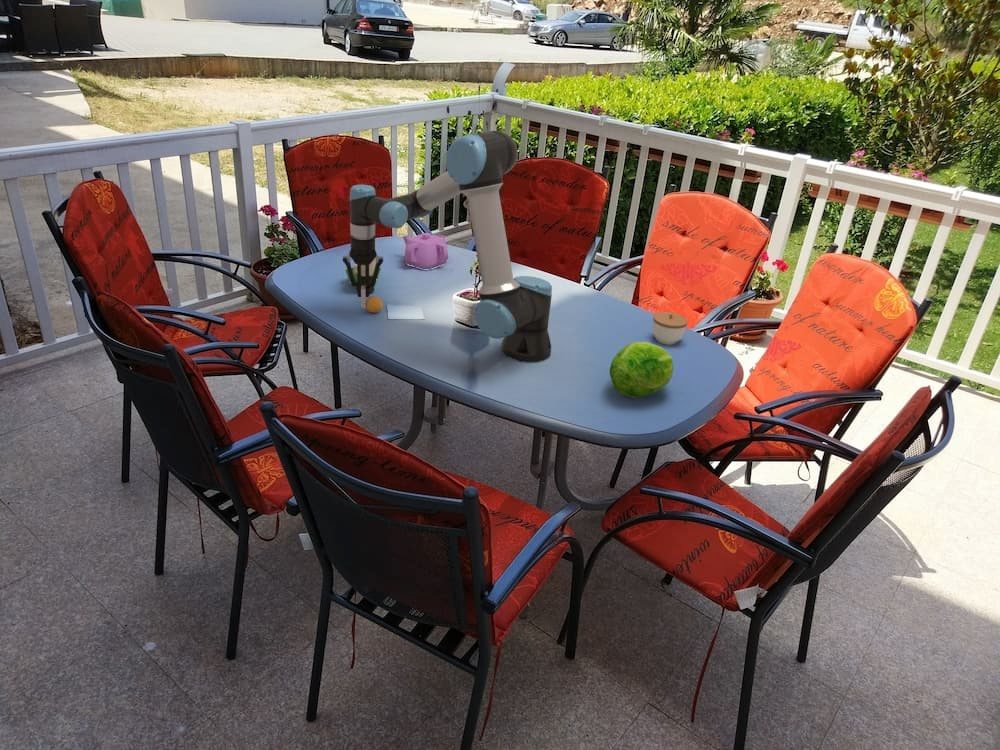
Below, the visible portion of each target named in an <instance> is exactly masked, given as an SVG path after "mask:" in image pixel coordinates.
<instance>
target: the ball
mask: <svg viewBox="0 0 1000 750" xmlns="http://www.w3.org/2000/svg"><path fill="white" fill-rule="evenodd" d="M365 309H366V310H367V311H368V312H370V313H372V314H375V313H377V314H378V313H379V312H381V310H382V309H383V301H382V299H381V298H380V297H379V296H376V295H372V296H369V297H367V298H366V308H365Z"/></svg>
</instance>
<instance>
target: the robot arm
mask: <svg viewBox="0 0 1000 750" xmlns="http://www.w3.org/2000/svg"><path fill="white" fill-rule="evenodd" d="M518 153H519V152H518V147H517V144H516V142H515V141H514V139H513V138H512V137H511V136H510V135H509V134H507V132H503V131H500V130H490V131H486V132H477V133H471V134H470V133H468V134H466V135H462V136H460V137H457V138H455V140H454V141H452V143H451V144H450V146H449V147H448V149H447V152H446V156H445V167H446V171H445V172H443V173H441V174H440V175H438V176H436V177H435V178H433V179H432V180H430V181H429V182H427V183H425V184H423V185H421V186H420V187H419V188H417V189H415V190H414V191H412V192H411V193H407V194H404V195H399V196H394V197H391V198H383V197H380V196H378V195H377V194H376V189H375V187H374V186H372V185H368V184H354V185H352V186H351V187H350V189H349V213H350V215H349V217H350V222H349V225H350V226H349V227H350V232H349V233H350V250H349V253H348V254H347V255H343V256H342V262H343V263H344V265H345V267H346V270H348V274H349V277H350V281H351V284H350V285H351V286H352V287H355V288H357V290H356V293H357V295H356V296H357V297H358V298H360V303H361V309H362V308H363V309H364V308H365V309H367V308H366V301H367V298H369V297H370V293H369V288H370V287H374V288H375V285H376V283H377V281H376V279H377V275H378V272H379V268H381V265H382V264H383V262H384V257H383V256H381V255H378V254H377V250H376V237H375V236H376V224H380V225H383V226H385V227H387V228H390V229H391V228H392V229H401V228H402V227H404V225H405V224H407V221H410V220H414V219H416V218H422V217H426V216H429V215H430V214H431V213H433V211H434V209H435V208H438V207H439V206H441V205H443V204H445V203H447V202H448V201H450V200H452V199H453V198H456V197H457V196H459V195H460V194H463V195H464V196H466V200H467V205H468V209H469V217H470V221H471V227H472V232H473V238H474V239H473V240H474V243H475V249H476V254H477V255H476V256H477V260H478V266H479V272H480V276H481V282H482V285H481V287H480V288H479V290H478V295H479V302H478V303H477V304H476V307H475V309H474V312H473V313H474V314H473V315H474V316H473V317H474V320H475V323H476V325H477V327H478V328H479V329H480V331H481V332H482V333H484V334H485V335H486V336H487V337H488V338H492V339H495V340H496V339H497V340H498V339H502V341H501V349H502V350H501V353H502V352H503V353H504V354H505V355H504V354H503V353H502V354H503V355H504V356H505V357H507V356H508V357H507V358H509V357H510V358H509V359H511V358H512V359H511V360H514V359H515V361H517V360H518V362H522V361H526V362H525V363H536V362H537V363H538V362H541V361H544V360H547V359H548V358H549V357H550V356H551V354H552V353H551V352H552V342H551V338H550V335H549V331H548V329H549V322H550V321H549V320H550V313H551V304H552V297H553V288H552V287H553V286H552V285H551V283H550V282H549V281H547V280H545V279H543V278H539V277H536V276H530V275H519V276H515V277H514V274H513V270H512V264H511V258H510V251H509V250H510V249H509V245H508V238H507V233H506V227H505V222H504V220H505V219H504V215H503V209H502V205H501V197H500V190H501V188H502V186H503V185H504V180H503V175H506V174H507V173H509V172H510V171H511V170H512V169H513V168H514V167H515V165H516V163H517V161H518V155H519V154H518ZM375 258H376V260H375V261H376V265H375V269H374V273H373V276H372V280H371V282H369V265H370V264H371V263H372V261H373V260H374V259H375ZM351 260H352V262H353V263H354V262H355V263H356V264H357V282H356V281H355V278H354V275H353V271H352V268H353V267H352V265H351ZM361 265H365V286H361Z"/></svg>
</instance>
